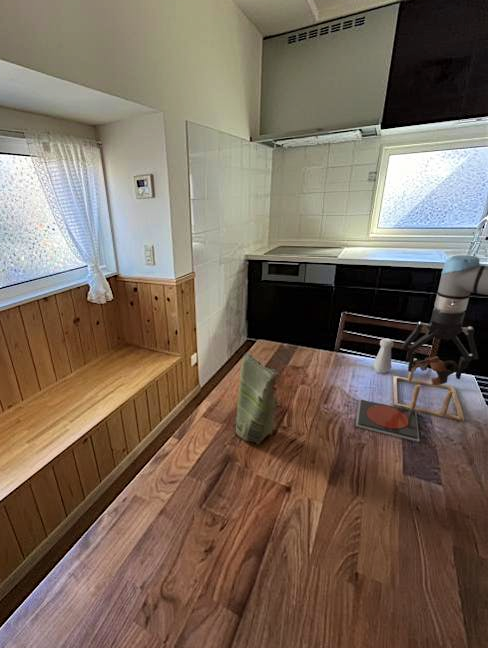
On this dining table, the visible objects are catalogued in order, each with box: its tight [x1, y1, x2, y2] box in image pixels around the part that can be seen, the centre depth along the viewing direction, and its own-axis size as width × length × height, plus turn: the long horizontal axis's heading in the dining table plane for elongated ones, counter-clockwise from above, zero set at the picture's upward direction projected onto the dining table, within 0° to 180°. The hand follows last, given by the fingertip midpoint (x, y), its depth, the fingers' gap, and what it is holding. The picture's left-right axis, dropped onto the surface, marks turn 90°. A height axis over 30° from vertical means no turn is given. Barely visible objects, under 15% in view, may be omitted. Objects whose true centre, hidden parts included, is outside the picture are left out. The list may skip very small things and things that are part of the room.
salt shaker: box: [373, 338, 395, 375], centre depth 125 cm, size 6×6×13 cm
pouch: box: [235, 352, 279, 445], centre depth 95 cm, size 11×12×25 cm
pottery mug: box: [412, 355, 458, 385], centre depth 107 cm, size 12×10×8 cm
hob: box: [355, 399, 421, 443], centre depth 102 cm, size 16×14×1 cm
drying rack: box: [392, 357, 465, 422], centre depth 110 cm, size 18×19×9 cm
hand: (432, 373), depth 107 cm, fingers closed on pottery mug, 12 cm apart
